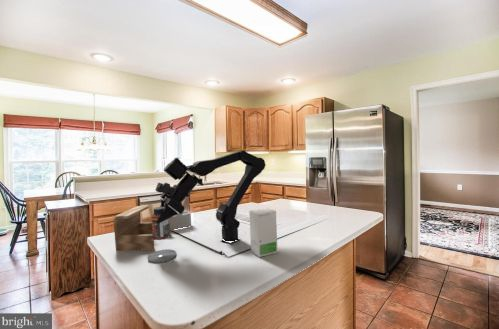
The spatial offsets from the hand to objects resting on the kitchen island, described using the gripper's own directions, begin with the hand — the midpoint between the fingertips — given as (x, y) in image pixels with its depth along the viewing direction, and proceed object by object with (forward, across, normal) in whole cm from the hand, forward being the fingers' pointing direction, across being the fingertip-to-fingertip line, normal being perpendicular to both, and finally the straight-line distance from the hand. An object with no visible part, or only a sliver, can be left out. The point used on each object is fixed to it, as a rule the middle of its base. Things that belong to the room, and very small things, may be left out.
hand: (156, 220), depth 93 cm
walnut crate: (+11, -19, +8) cm, 23 cm away
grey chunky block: (0, -33, +19) cm, 38 cm away
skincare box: (-15, +18, +34) cm, 41 cm away
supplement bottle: (+4, 0, +6) cm, 7 cm away
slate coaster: (+9, +1, +10) cm, 14 cm away
